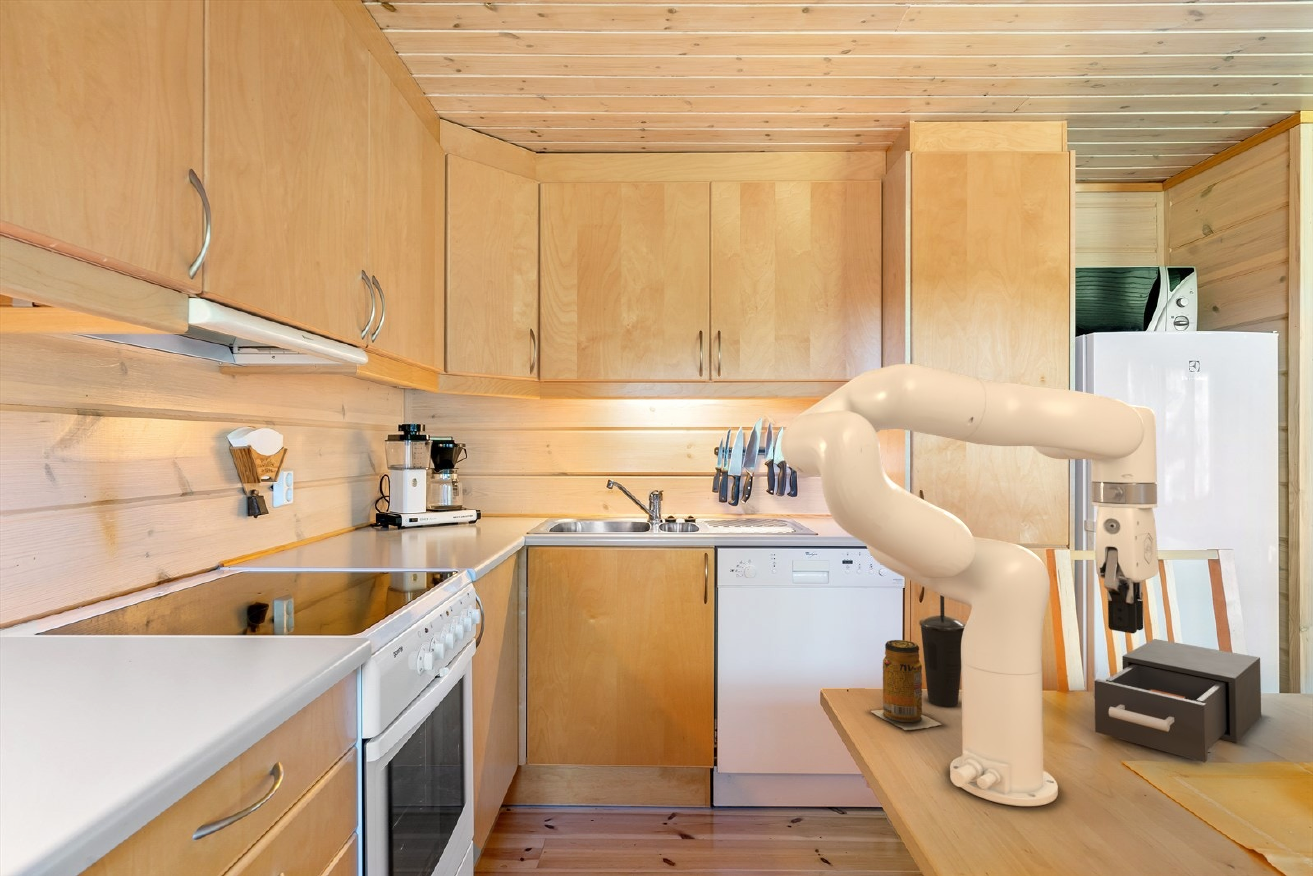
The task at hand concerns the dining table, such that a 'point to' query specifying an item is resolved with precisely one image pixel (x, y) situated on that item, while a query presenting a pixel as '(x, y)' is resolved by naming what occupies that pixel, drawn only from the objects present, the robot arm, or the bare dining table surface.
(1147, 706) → the drawer
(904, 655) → the condiment
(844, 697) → the dining table surface
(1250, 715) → the cabinet
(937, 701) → the drinking cup
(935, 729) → the dining table surface
